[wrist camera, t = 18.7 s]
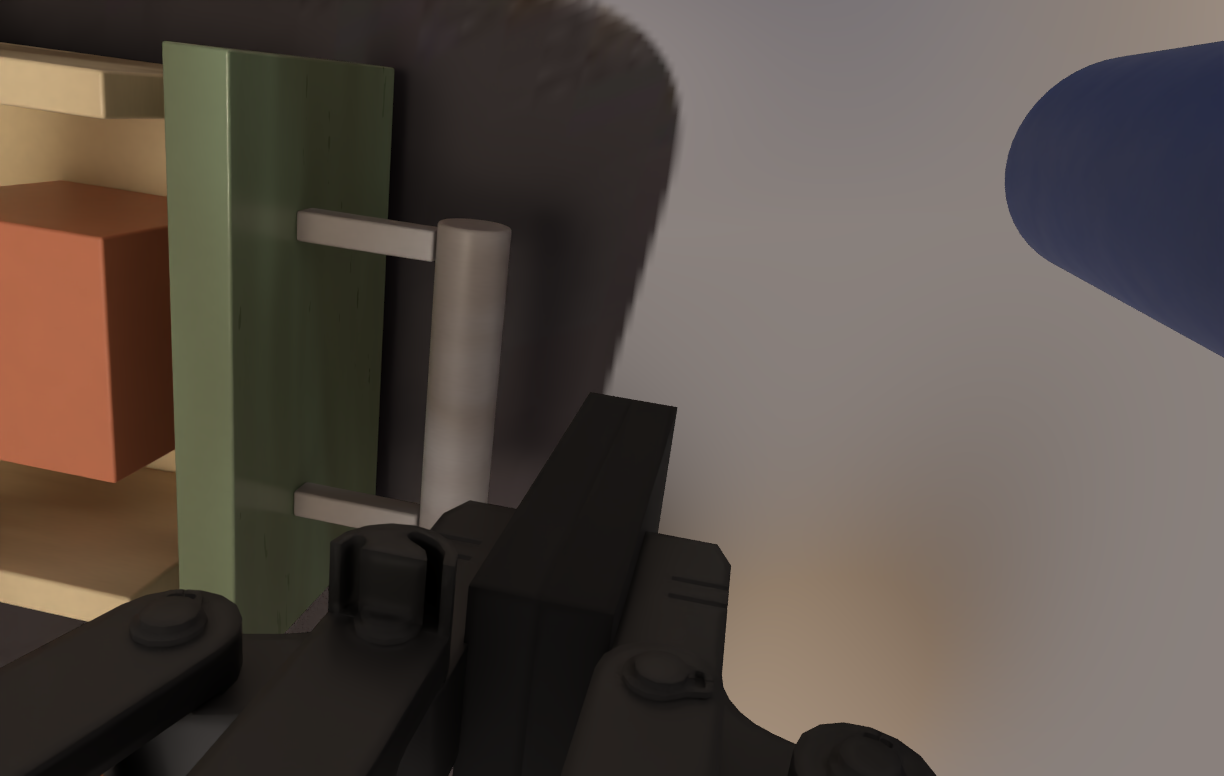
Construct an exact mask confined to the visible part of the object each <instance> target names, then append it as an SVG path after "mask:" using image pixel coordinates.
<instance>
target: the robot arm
mask: <svg viewBox="0 0 1224 776" xmlns="http://www.w3.org/2000/svg"><path fill="white" fill-rule="evenodd" d="M676 413H677V407H673V406H667V405H661V404H655V403H650V402H644V401H638V400H632V399H626V398H621V397H615V396H609V395H603V394H598V393H592V392H590V394H589V395H588V397H587V398H586V400H585V402H584V403H583V405H582V406H581V408H580V410H579V411H578V413H577V414H576V416H575V418H574V419H573V421H572V422H571V424H570V425H569V427H568V429H567V430H566V432H565V433H564V435H563V437H562V438H561V440H560V441H559V443H558V445H557V446H556V448H555V449H554V451H553V452H552V454H551V456H550V457H549V459H548V460H547V462H546V464H545V465H544V467H543V468H542V470H541V472H540V473H539V475H538V476H537V478H536V479H535V481H534V483H533V484H532V486H531V487H530V489H529V491H528V492H527V494H526V495H525V497H524V499H523V500H522V502H521V503H520V505H519V506H518V508H517V509H513V508H508V507H503V506H498V505H492V504H487V503H482V502H477V501H471V500H469V501H467V502H465V503H463V504H461V505H459V506H457V507H455V508H453V509H451V510H449V511H447V512H445V513H443V514H442V515H441V517H440V518H439V519H438V520H437V522H436V523H435V524H434V525H433V527H432V528H431V529H430V530H429V529H426V528H422V527H419V526H416V525H405V524H395V523H388V524H377V525H367V526H364V527H360V528H357V529H354V530H350V531H347V532H345V533H343V534H342V535H340V536H339V537H337V538H335V539H334V540H332V541H331V542H330V566H329V602H328V613H327V614H326V615H325V616H324V617H323V618H322V620H321V621H320V622H319V623H318V624H317V625H316V627H315V628H314V629H313V630H312V631H311V632H307V633H292V634H242V616H241V614H240V611H239V609H238V607H237V605H236V604H235V603H233V602H231V601H230V600H228V599H227V598H225V597H224V596H222V595H219V594H215V593H210V592H206V591H202V590H191V589H187V590H184V589H175V590H168V591H164V592H159V593H153V594H148V595H144V596H142V597H139V598H137V599H134V600H132V601H129V602H126V603H124V604H121V605H120V606H118V607H116V608H114V609H112V610H110V611H108V612H106V613H104V614H102V615H100V616H99V617H97V618H95V619H93V620H91V621H89V622H87V623H85V624H83V625H81V626H80V627H78V628H76V629H74V630H72V631H70V632H68V633H66V634H64V635H62V636H61V637H59V638H57V639H55V640H53V641H51V642H49V643H47V644H45V645H43V646H41V647H40V648H38V649H36V650H34V651H32V652H30V653H28V654H26V655H24V656H22V657H21V658H19V659H17V660H15V661H13V662H11V663H9V664H7V665H5V666H3V667H2V668H0V776H101V775H102V774H103V776H448V775H449V773H450V771H451V769H452V767H453V776H936V774H935V773H934V772H933V771H932V769H931V768H930V767H929V766H928V765H927V763H926V762H925V761H924V760H923V758H922V757H921V756H920V755H919V754H917V753H916V752H914V751H913V750H912V749H910V748H909V747H908V746H906V745H905V744H903V743H902V742H901V741H899V740H898V739H896V738H894V737H891V736H889V735H887V734H884V733H882V732H880V731H878V730H875V729H873V728H870V727H865V726H860V725H854V724H849V723H833V724H822V725H818V726H816V727H814V728H812V729H810V730H809V731H807V732H805V733H803V734H802V735H801V737H800V739H799V740H798V742H797V744H794V743H792V742H790V741H787V740H785V739H783V738H781V737H779V736H777V735H774V734H772V733H770V732H769V731H767V730H765V729H763V728H761V727H760V726H758V725H756V724H754V723H753V722H752V721H751V720H749V719H748V718H747V717H745V716H744V715H743V714H742V713H740V711H739V710H738V709H737V708H736V707H735V706H734V704H732V702H731V701H730V700H729V698H728V696H727V694H726V692H725V690H724V688H723V681H722V666H723V654H724V643H725V631H726V619H727V606H728V595H729V594H728V593H729V582H730V570H731V565H730V564H729V562H728V560H727V559H726V557H725V556H724V554H723V553H722V551H721V549H720V548H719V546H718V545H717V544H712V543H705V542H701V541H695V540H690V539H685V538H679V537H675V536H669V535H664V534H658V528H659V521H660V515H661V508H662V502H663V496H664V489H665V482H666V477H667V470H668V464H669V457H670V451H671V445H672V438H673V431H674V426H675V419H676ZM453 765H454V766H453Z"/></svg>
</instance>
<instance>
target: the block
mask: <svg viewBox="0 0 1224 776" xmlns="http://www.w3.org/2000/svg"><path fill="white" fill-rule="evenodd" d="M173 450H175V433H174V402H173V371H172V339H171V308H170V277H169V245H168V214H167V197H165V196H158V195H152V194H146V193H139V192H133V191H126V190H120V189H114V188H107V187H101V186H95V185H88V184H82V183H76V182H69V181H63V180H59V181H48V182H38V183H28V184H17V185H7V186H0V460H2V461H7V462H12V463H17V464H22V465H27V466H32V467H37V468H42V469H47V470H52V471H57V472H62V473H67V474H72V475H77V476H81V477H86V478H91V479H96V480H101V481H106V482H111V483H116V482H118V481H120V480H122V479H124V478H125V477H127V476H129V475H131V474H132V473H134V472H136V471H138V470H139V469H141V468H143V467H145V466H147V465H148V464H150V463H152V462H154V461H155V460H157V459H159V458H161V457H163V456H164V455H166V454H168V453H170V452H171V451H173Z"/></svg>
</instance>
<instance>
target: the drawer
mask: <svg viewBox="0 0 1224 776" xmlns="http://www.w3.org/2000/svg"><path fill="white" fill-rule="evenodd" d="M162 58H163V64H157V63H150V62H142V61H135V60H128V59H120V58H113V57H105V56H98V55H91V54H83V53H76V52H69V51H61V50H54V49H47V48H39V47H32V46H24V45H17V44H10V43H2V42H0V186H7V185H17V184H28V183H38V182H48V181H59V180H63V181H69V182H76V183H82V184H88V185H95V186H101V187H107V188H114V189H120V190H126V191H133V192H139V193H146V194H152V195H158V196H165V197H167V214H168V245H169V277H170V308H171V339H172V371H173V402H174V433H175V450H173V451H171V452H170V453H168V454H166V455H164V456H163V457H161V458H159V459H157V460H155V461H154V462H152V463H150V464H148V465H147V466H145V467H143V468H141V469H139V470H138V471H136V472H134V473H132V474H131V475H129V476H127V477H125V478H124V479H122V480H120V481H118V482H116V483H111V482H106V481H101V480H96V479H91V478H86V477H81V476H77V475H72V474H67V473H62V472H57V471H52V470H47V469H42V468H37V467H32V466H27V465H22V464H17V463H12V462H7V461H2V460H0V602H3V603H7V604H12V605H16V606H21V607H25V608H29V609H34V610H38V611H43V612H47V613H52V614H56V615H61V616H65V617H70V618H74V619H79V620H83V621H88V622H89V621H91V620H93V619H95V618H97V617H99V616H100V615H102V614H104V613H106V612H108V611H110V610H112V609H114V608H116V607H118V606H120V605H121V604H124V603H126V602H129V601H132V600H134V599H137V598H139V597H142V596H144V595H148V594H153V593H159V592H164V591H168V590H175V589H184V590H187V589H191V590H202V591H206V592H210V593H215V594H219V595H222V596H224V597H225V598H227V599H228V600H230V601H231V602H233V603H235V604H236V605H237V607H238V609H239V611H240V614H241V616H242V634H284V633H285V632H286V631H287V630H288V628H289V627H290V626H291V625H292V624H293V623H294V622H295V621H296V620H297V619H298V618H299V617H300V616H301V615H302V614H303V613H304V611H305V610H306V609H307V608H308V607H309V606H310V605H311V604H312V603H313V602H314V601H315V600H316V599H317V598H318V597H319V596H320V594H321V593H322V592H323V591H324V590H325V589H326V588H327V587H328V586H329V566H330V542H331V541H332V540H334V539H335V538H337V537H339V536H340V535H342V534H343V533H345V532H347V531H350V530H354V529H357V528H360V527H364V526H367V525H377V524H388V523H395V524H405V525H416V526H419V527H422V528H426V529H429V530H430V529H431V528H432V527H433V525H434V524H435V523H436V522H437V520H438V519H439V518H440V517H441V515H442V514H443V513H445V512H447V511H449V510H451V509H453V508H455V507H457V506H459V505H461V504H463V503H465V502H467V501H469V500H471V501H477V502H482V503H487V504H488V494H489V483H490V472H491V460H492V449H493V438H494V426H495V415H496V404H497V392H498V381H499V370H500V358H501V347H502V336H503V324H504V313H505V302H506V290H507V279H508V268H509V256H510V245H511V234H512V231H511V228H509V227H508V226H506V225H503V224H500V223H495V222H490V221H484V220H476V219H463V218H451V219H444V220H440V221H439V222H438V227H434V226H428V225H421V224H415V223H408V222H402V221H395V220H389V219H388V203H389V180H390V158H391V136H392V113H393V91H394V68H392V67H384V66H376V65H369V64H361V63H354V62H346V61H337V60H328V59H320V58H311V57H302V56H293V55H285V54H276V53H267V52H259V51H250V50H241V49H232V48H224V47H215V46H206V45H198V44H189V43H180V42H171V41H164V42H162ZM386 255H391V256H397V257H403V258H409V259H416V260H422V261H428V262H432V261H434V260H435V276H434V292H433V308H432V324H431V340H430V356H429V372H428V388H427V404H426V421H425V437H424V453H423V469H422V485H421V501H420V504H417V503H412V502H407V501H401V500H396V499H391V498H386V497H381V496H376V495H375V493H376V471H377V449H378V426H379V404H380V382H381V359H382V337H383V314H384V292H385V270H386Z"/></svg>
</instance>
